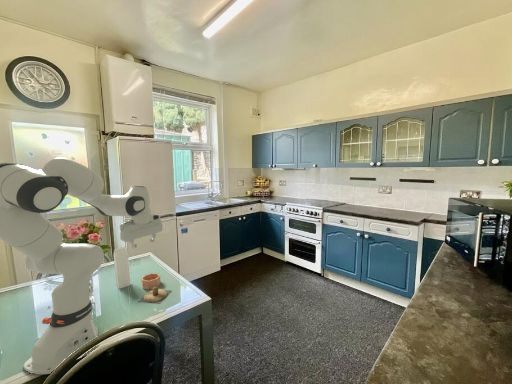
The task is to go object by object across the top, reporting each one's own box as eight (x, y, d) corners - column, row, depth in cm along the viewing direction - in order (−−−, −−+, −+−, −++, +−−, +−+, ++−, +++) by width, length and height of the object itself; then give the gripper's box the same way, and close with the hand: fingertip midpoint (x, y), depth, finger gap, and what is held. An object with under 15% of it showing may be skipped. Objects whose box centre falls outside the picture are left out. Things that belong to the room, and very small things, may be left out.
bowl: (154, 290, 128) (153, 281, 127) (138, 289, 129) (138, 280, 129) (163, 281, 137) (162, 273, 136) (148, 280, 138) (148, 272, 138)
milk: (130, 285, 134) (127, 248, 131) (118, 289, 129) (115, 250, 127) (127, 281, 138) (124, 245, 135) (115, 285, 134) (112, 247, 131)
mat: (160, 304, 115) (159, 303, 115) (137, 302, 117) (137, 301, 117) (172, 291, 127) (172, 290, 127) (152, 289, 129) (151, 288, 129)
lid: (159, 303, 116) (159, 294, 115) (139, 301, 117) (138, 293, 117) (171, 291, 126) (170, 283, 126) (152, 289, 128) (151, 281, 127)
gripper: (123, 224, 106) (125, 253, 108) (163, 214, 123) (165, 240, 125) (116, 222, 110) (119, 250, 112) (156, 213, 127) (158, 237, 129)
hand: (143, 244), depth 119 cm, fingers open, 8 cm apart
